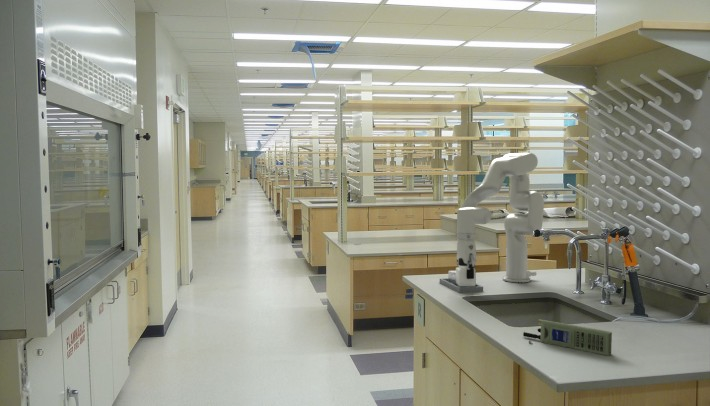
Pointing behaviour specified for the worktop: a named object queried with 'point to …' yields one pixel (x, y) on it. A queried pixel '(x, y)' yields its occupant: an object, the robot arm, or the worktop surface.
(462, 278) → the medicine bottle
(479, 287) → the bay tray
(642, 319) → the worktop surface
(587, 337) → the handheld radio
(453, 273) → the steel block
